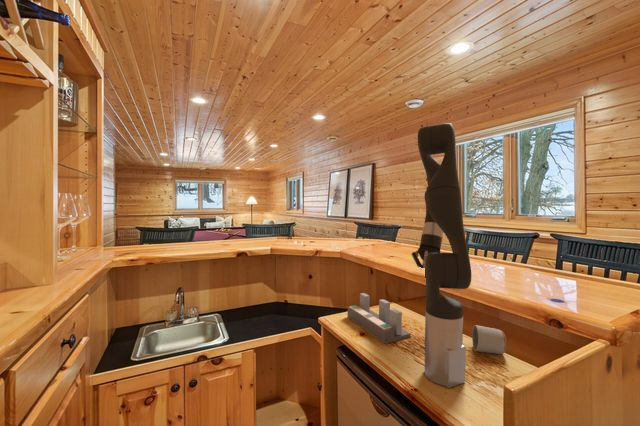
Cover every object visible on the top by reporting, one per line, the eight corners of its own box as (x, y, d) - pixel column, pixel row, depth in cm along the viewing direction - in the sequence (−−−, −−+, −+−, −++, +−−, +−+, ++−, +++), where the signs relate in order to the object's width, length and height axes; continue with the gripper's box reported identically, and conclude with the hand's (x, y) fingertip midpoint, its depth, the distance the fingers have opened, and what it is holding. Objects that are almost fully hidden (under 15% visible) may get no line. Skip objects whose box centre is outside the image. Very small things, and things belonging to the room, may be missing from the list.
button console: (410, 337, 101) (410, 323, 101) (384, 343, 96) (384, 329, 96) (370, 312, 123) (370, 301, 122) (347, 317, 118) (347, 305, 118)
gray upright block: (389, 322, 110) (390, 302, 109) (385, 323, 109) (385, 303, 108) (383, 318, 113) (383, 299, 113) (378, 319, 112) (379, 299, 112)
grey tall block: (401, 334, 100) (401, 312, 100) (396, 335, 99) (397, 313, 99) (393, 329, 103) (394, 308, 103) (389, 330, 103) (389, 309, 102)
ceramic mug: (507, 359, 87) (508, 333, 87) (477, 355, 89) (477, 330, 89) (495, 343, 97) (496, 320, 97) (468, 340, 99) (469, 317, 99)
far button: (369, 314, 117) (369, 295, 117) (365, 315, 116) (365, 296, 116) (363, 310, 121) (364, 292, 120) (359, 311, 120) (359, 293, 119)
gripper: (415, 230, 112) (407, 275, 108) (452, 237, 109) (445, 284, 104) (413, 234, 119) (405, 276, 115) (447, 241, 116) (441, 285, 111)
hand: (424, 280), depth 110 cm, fingers closed
